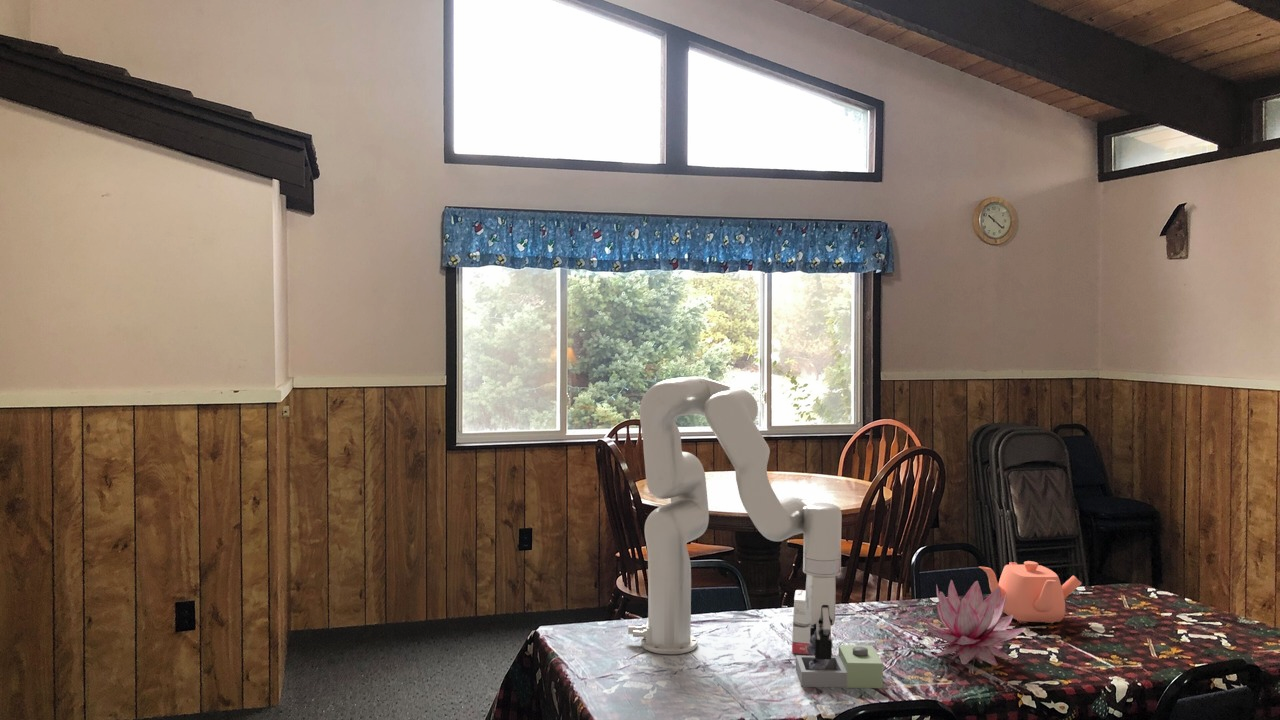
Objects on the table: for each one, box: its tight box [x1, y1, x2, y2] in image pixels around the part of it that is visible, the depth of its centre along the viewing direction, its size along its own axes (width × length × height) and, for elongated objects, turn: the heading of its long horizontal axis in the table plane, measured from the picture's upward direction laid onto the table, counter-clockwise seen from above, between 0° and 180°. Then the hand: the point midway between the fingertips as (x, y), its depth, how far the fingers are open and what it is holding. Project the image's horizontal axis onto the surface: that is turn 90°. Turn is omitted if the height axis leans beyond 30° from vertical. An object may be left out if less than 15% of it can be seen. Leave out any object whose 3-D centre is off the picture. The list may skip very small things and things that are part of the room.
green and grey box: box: [795, 644, 884, 689], centre depth 189 cm, size 16×10×6 cm, turn 88°
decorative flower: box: [916, 579, 1027, 666], centre depth 201 cm, size 21×21×15 cm
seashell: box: [807, 627, 834, 670], centre depth 189 cm, size 5×5×10 cm
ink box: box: [791, 589, 814, 656], centre depth 206 cm, size 9×5×12 cm, turn 168°
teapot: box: [978, 560, 1082, 624], centre depth 227 cm, size 18×18×14 cm
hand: (820, 651), depth 189 cm, fingers open, 5 cm apart
